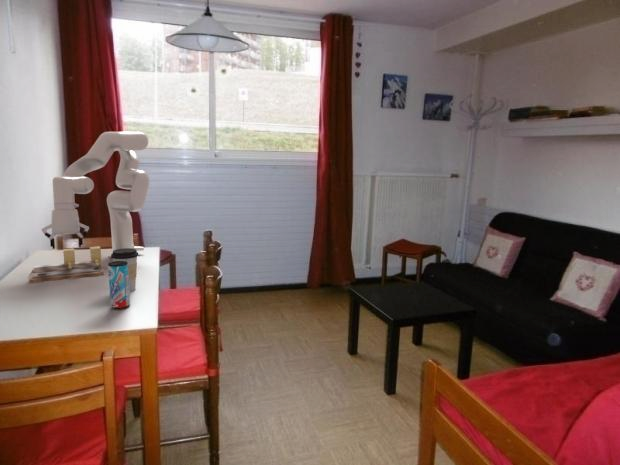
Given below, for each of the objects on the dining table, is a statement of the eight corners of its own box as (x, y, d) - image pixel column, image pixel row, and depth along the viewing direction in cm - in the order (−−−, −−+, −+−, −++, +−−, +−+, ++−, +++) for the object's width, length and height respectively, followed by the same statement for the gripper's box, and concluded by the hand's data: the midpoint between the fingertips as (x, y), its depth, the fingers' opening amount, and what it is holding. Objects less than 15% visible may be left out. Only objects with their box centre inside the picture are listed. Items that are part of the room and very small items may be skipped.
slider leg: (75, 263, 188) (74, 248, 187) (75, 269, 179) (74, 253, 178) (64, 264, 186) (63, 249, 185) (64, 270, 177) (63, 254, 176)
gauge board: (101, 265, 195) (100, 258, 194) (103, 274, 181) (103, 267, 181) (32, 272, 182) (31, 265, 182) (29, 282, 169) (28, 274, 168)
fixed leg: (101, 261, 193) (99, 246, 191) (102, 267, 184) (101, 251, 182) (90, 262, 191) (89, 247, 190) (92, 268, 182) (91, 252, 181)
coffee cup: (123, 295, 156) (121, 254, 153) (107, 290, 161) (104, 251, 158) (145, 289, 164) (143, 250, 161) (129, 284, 169) (127, 246, 166)
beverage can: (108, 306, 145) (105, 262, 142) (126, 302, 149) (123, 260, 147) (115, 311, 141) (112, 266, 138) (133, 307, 145) (130, 263, 142)
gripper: (87, 205, 188) (89, 244, 191) (40, 206, 180) (43, 247, 182) (88, 207, 181) (90, 247, 184) (39, 208, 173) (42, 250, 176)
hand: (67, 247), depth 183 cm, fingers open, 9 cm apart
